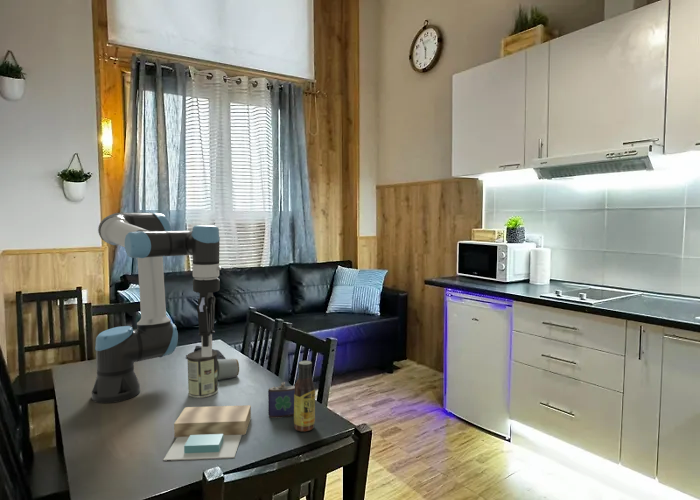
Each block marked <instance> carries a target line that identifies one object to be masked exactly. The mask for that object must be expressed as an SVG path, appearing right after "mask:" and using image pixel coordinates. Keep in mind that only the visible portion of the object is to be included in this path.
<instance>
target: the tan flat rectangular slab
mask: <svg viewBox="0 0 700 500" xmlns="http://www.w3.org/2000/svg"><path fill="white" fill-rule="evenodd" d="M251 411H252V406H251V404H250V405H249V404H248V405H216V406H211V405H210V406H187V407H186V406H185V407H184V408H183V410H182V411H181V412H180V414H179V416H178V417H177V419H176V420H175V421H174V423H173V429H174V431H173V432H174V434H173V435H174V438H177V437H188V436H190V435H205V434H223V435H242V436H243V435H246V434H247V431H248V428H249V425H250V421H251V418H252V412H251Z"/></svg>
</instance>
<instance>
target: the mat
mask: <svg viewBox="0 0 700 500" xmlns="http://www.w3.org/2000/svg"><path fill="white" fill-rule="evenodd" d="M242 436H243V435H223V443H222V446H221V448H220V451H219V452H205V453H184V445H185V444H186V442H187V440H188V438H189V437H190V436H188V437H176V439H175V440H174V442H173V443H172V445H171V447H170V448H169V449H168V451H167V453H166V454H165V456H164V458H163V459H162V460H163V461H165V462H166V461H167V460H171V461H190V460H191V461H192V460H214V459H216V460H217V459H218V460H219V459H234V458H236V457H235V456H236V454H237V450H238V448H239V445H240V442H241V439H242Z"/></svg>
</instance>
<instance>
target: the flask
mask: <svg viewBox="0 0 700 500" xmlns="http://www.w3.org/2000/svg"><path fill="white" fill-rule="evenodd" d="M267 390H268V391H267V392H268V393H267V394H268V397H267V398H268V401H267V402H268V405H267V406H268V407H267V408H268V412H267V413H268V417H269V418H272V419H278V418H279V419H280V418H288V417H294V393H295V385H289V386H286V382H285V381H282V382H281V384H280V385H279V386H276V387H275V386H274V385H273V387H269V388H268V389H267Z"/></svg>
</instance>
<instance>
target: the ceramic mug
mask: <svg viewBox="0 0 700 500" xmlns="http://www.w3.org/2000/svg"><path fill="white" fill-rule="evenodd" d="M239 363H240V362H239V361H238V359H237V358H226V359H218V360H217V381H220V380H227V379H232V378H236V377H238V376H239V374H240V364H239Z"/></svg>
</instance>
